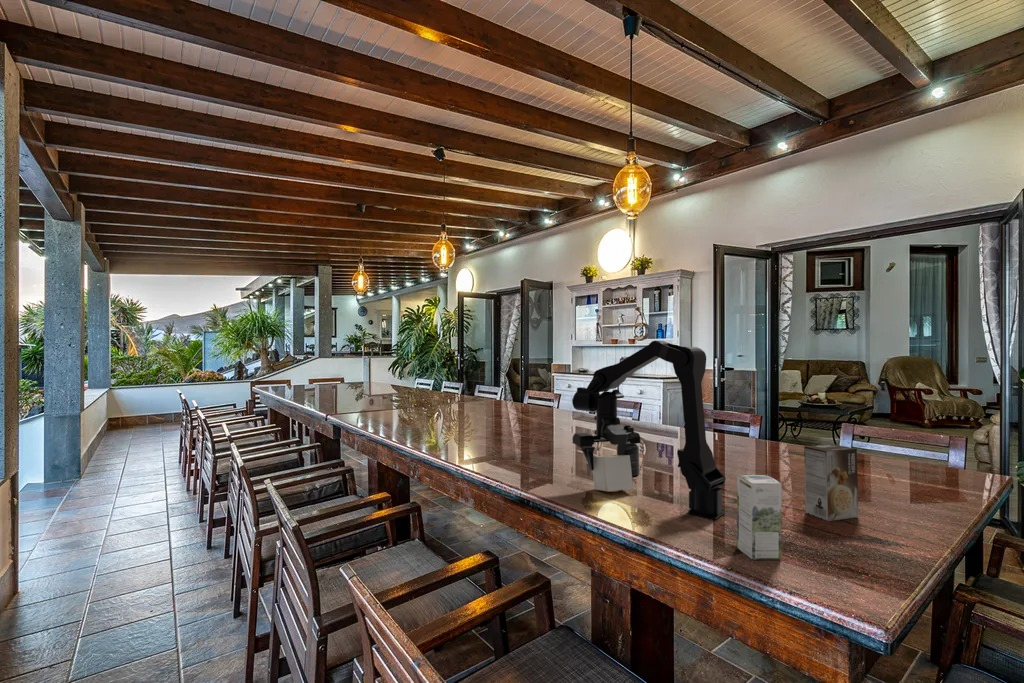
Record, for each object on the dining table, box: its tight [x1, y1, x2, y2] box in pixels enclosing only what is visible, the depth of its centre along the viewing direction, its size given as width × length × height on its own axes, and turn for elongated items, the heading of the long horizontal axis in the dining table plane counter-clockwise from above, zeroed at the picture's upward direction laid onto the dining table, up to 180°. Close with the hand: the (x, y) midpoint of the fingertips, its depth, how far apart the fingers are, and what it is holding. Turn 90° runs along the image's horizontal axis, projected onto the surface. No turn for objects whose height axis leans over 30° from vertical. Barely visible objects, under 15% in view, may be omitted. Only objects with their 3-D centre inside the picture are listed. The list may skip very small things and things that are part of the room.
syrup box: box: [736, 474, 783, 561], centre depth 92 cm, size 6×6×14 cm
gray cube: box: [592, 454, 634, 492], centre depth 133 cm, size 8×8×9 cm
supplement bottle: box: [616, 444, 640, 477], centre depth 151 cm, size 7×7×12 cm
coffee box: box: [803, 443, 859, 522], centre depth 114 cm, size 9×6×16 cm
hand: (606, 469), depth 135 cm, fingers open, 9 cm apart
